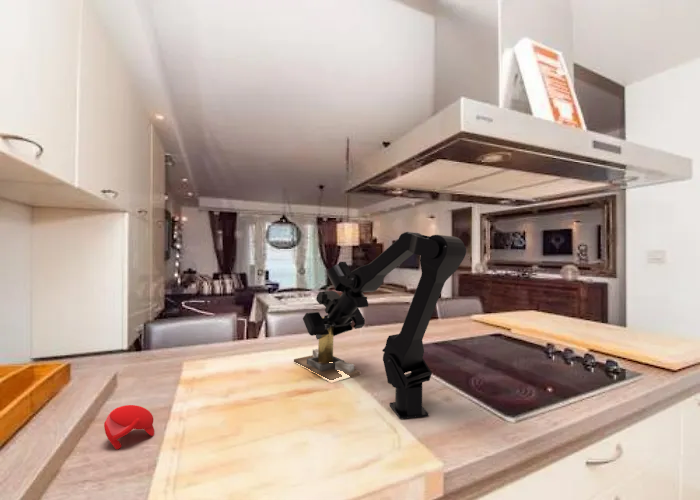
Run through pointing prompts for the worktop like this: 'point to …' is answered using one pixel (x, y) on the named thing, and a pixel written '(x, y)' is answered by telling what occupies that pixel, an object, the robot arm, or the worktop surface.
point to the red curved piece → (127, 422)
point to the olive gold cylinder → (326, 347)
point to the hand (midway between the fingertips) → (323, 336)
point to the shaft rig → (327, 366)
